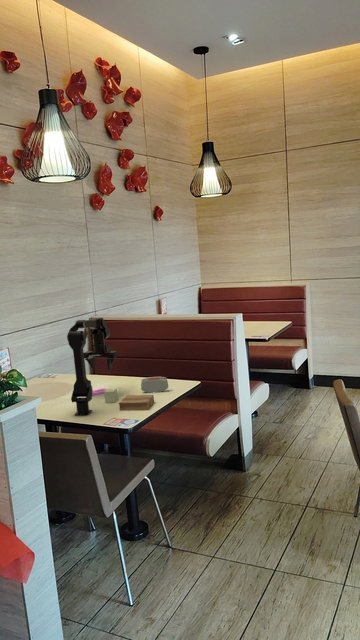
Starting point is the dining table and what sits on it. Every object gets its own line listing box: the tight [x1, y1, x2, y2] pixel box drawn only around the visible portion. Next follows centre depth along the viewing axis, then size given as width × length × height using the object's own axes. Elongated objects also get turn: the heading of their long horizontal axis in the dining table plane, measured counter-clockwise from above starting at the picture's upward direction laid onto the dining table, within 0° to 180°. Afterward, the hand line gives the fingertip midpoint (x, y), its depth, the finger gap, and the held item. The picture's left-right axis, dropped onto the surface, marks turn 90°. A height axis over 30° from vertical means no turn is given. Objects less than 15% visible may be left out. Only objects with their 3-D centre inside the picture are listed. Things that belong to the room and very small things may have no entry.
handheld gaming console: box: [140, 376, 169, 394], centre depth 272 cm, size 14×3×8 cm, turn 88°
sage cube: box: [103, 388, 119, 404], centre depth 261 cm, size 5×5×6 cm
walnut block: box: [118, 394, 155, 411], centre depth 250 cm, size 12×14×4 cm
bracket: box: [91, 384, 108, 397], centre depth 278 cm, size 13×6×7 cm, turn 121°
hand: (102, 370), depth 270 cm, fingers open, 9 cm apart
